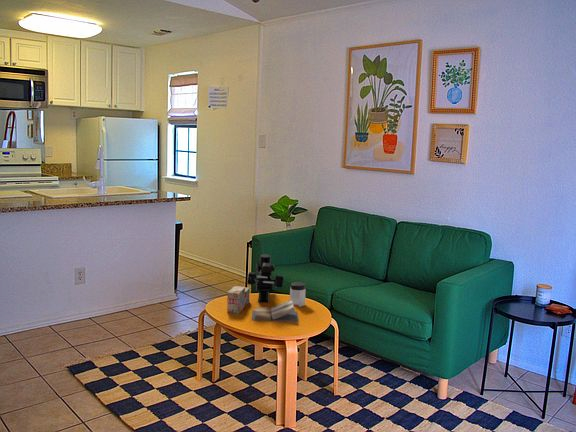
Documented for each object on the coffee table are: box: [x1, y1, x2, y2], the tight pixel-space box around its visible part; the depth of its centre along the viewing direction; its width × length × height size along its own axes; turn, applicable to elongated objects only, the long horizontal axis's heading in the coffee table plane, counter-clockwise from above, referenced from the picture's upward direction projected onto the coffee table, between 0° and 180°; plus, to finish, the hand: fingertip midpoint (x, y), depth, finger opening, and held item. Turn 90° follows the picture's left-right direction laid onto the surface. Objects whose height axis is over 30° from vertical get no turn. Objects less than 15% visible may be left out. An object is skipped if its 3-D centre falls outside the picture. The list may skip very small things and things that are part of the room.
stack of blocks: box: [226, 285, 250, 314], centre depth 296 cm, size 21×6×12 cm, turn 169°
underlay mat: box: [251, 309, 300, 323], centre depth 285 cm, size 16×24×1 cm, turn 93°
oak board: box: [254, 306, 271, 320], centre depth 285 cm, size 14×8×2 cm, turn 3°
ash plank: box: [270, 299, 296, 320], centre depth 285 cm, size 14×12×2 cm
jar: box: [289, 281, 307, 308], centre depth 308 cm, size 9×8×12 cm
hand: (265, 285), depth 284 cm, fingers open, 9 cm apart
